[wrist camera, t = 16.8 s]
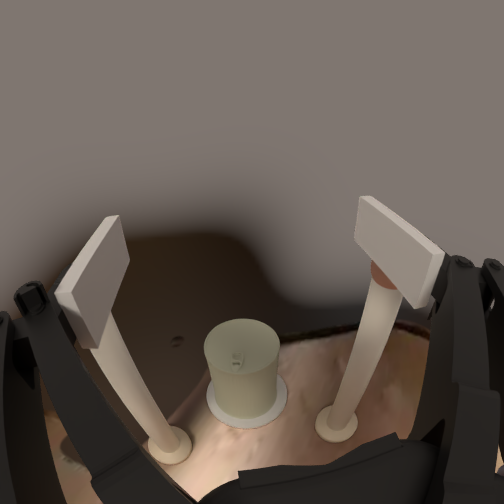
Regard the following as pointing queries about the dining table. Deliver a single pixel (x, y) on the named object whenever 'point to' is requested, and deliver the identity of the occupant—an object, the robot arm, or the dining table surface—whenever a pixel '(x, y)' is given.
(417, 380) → the dining table surface
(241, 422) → the coaster
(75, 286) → the robot arm
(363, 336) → the gate
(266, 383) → the can
